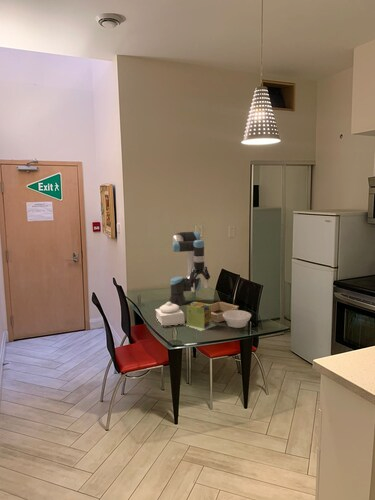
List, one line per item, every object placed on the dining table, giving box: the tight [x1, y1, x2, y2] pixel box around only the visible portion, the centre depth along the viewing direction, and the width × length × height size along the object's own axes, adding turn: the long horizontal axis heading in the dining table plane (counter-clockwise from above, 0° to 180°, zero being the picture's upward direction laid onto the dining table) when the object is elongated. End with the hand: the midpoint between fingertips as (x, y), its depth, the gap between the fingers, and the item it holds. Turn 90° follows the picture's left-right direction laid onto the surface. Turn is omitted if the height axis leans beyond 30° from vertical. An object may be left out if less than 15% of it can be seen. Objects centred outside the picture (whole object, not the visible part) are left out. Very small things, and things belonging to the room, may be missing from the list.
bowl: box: [223, 309, 252, 329], centre depth 277 cm, size 21×21×8 cm
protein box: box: [186, 301, 212, 328], centre depth 278 cm, size 10×15×16 cm
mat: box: [182, 322, 217, 332], centre depth 279 cm, size 19×16×1 cm
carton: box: [211, 301, 240, 323], centre depth 298 cm, size 21×28×6 cm
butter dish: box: [154, 301, 186, 326], centre depth 286 cm, size 18×18×16 cm
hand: (199, 289), depth 277 cm, fingers open, 13 cm apart
